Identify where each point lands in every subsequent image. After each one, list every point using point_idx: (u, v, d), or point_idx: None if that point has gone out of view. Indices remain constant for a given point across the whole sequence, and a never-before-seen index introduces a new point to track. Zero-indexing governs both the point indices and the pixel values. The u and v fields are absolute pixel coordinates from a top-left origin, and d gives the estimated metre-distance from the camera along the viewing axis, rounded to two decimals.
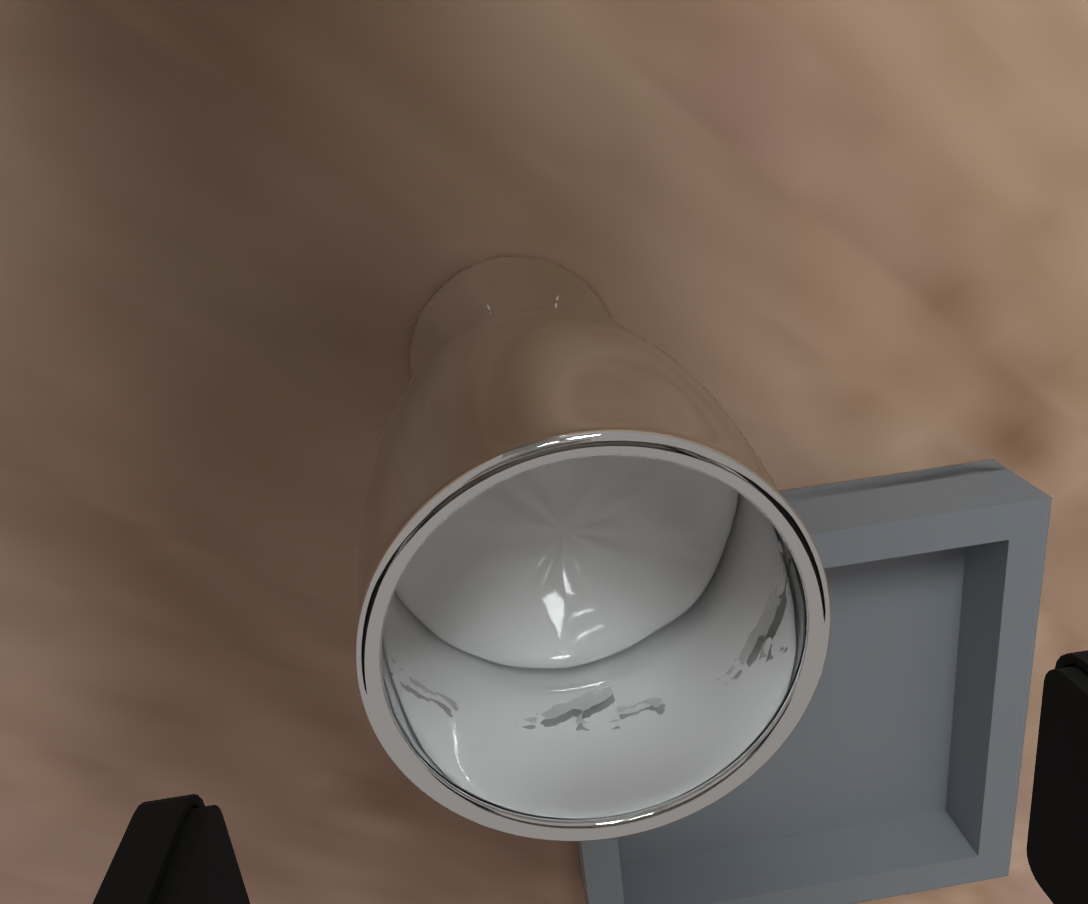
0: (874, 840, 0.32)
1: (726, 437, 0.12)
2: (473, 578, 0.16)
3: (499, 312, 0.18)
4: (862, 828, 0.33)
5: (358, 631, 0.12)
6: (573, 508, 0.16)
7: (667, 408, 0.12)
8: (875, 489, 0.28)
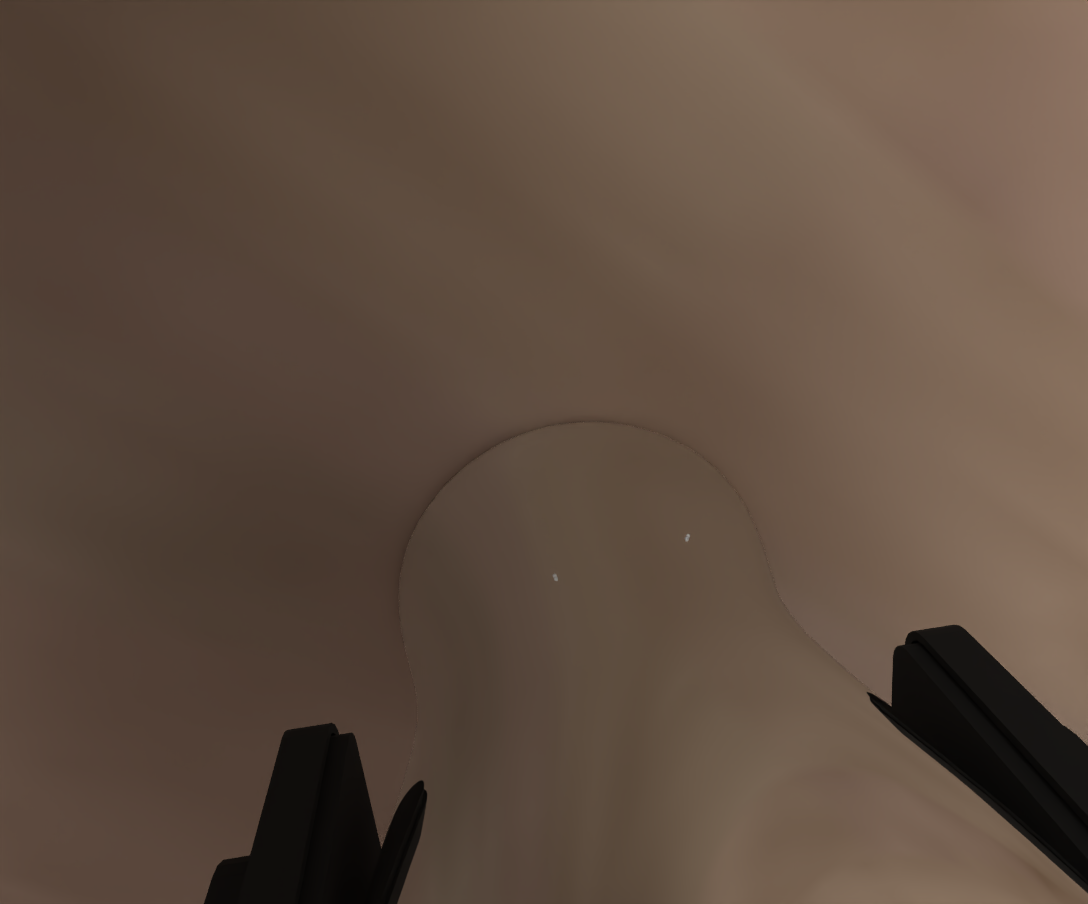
0: None
1: None
2: None
3: (603, 679, 0.08)
4: None
5: None
6: None
7: None
8: None
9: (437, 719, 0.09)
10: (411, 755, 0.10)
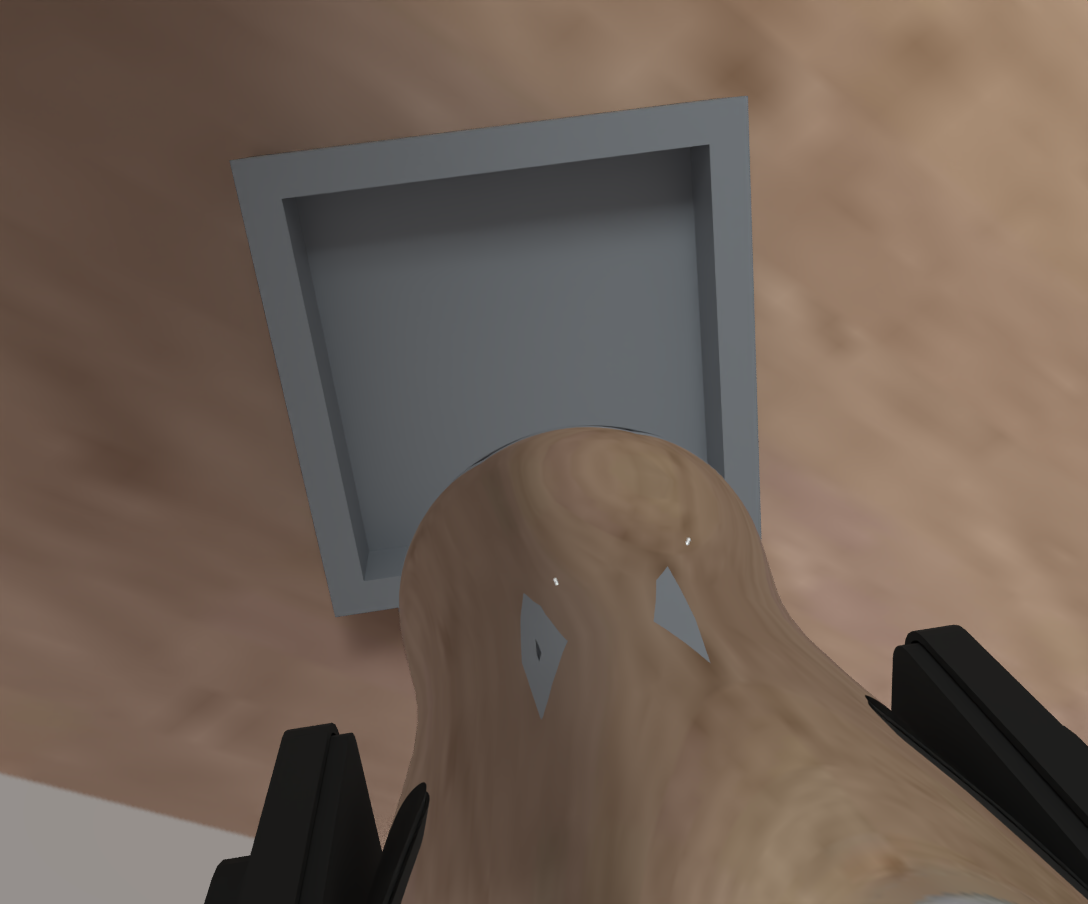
0: None
1: None
2: None
3: (604, 685, 0.08)
4: None
5: None
6: None
7: None
8: None
9: (437, 724, 0.09)
10: (411, 760, 0.09)
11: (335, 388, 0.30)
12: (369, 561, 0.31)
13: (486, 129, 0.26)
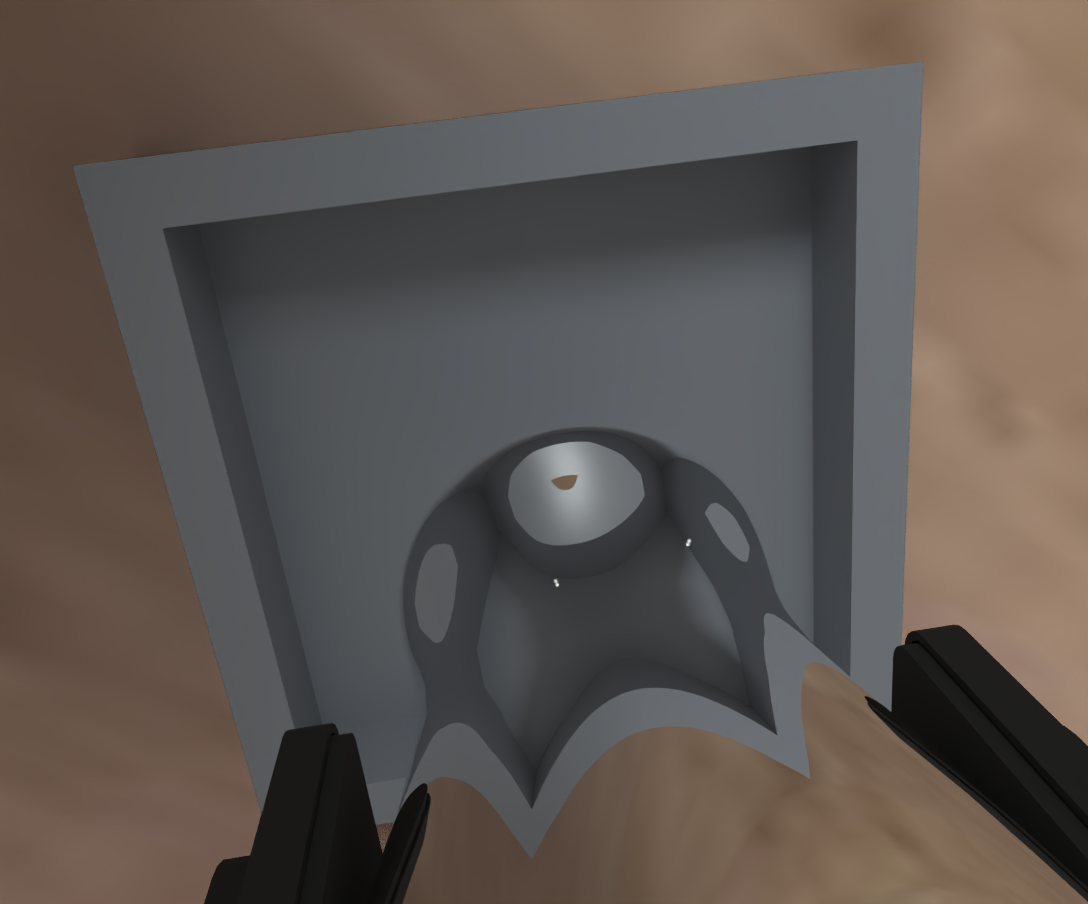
0: None
1: None
2: None
3: (604, 687, 0.08)
4: None
5: None
6: None
7: None
8: None
9: (438, 726, 0.09)
10: (411, 761, 0.09)
11: (268, 506, 0.20)
12: None
13: (498, 115, 0.16)
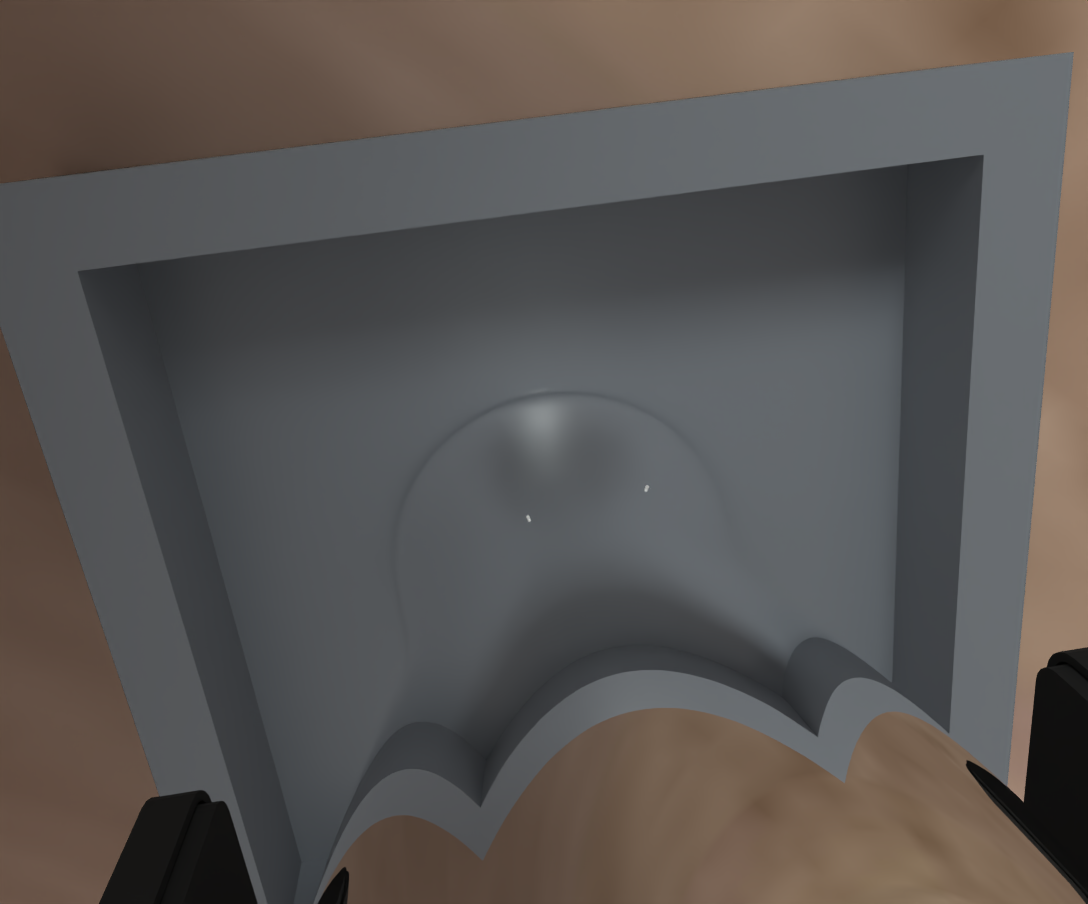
0: None
1: None
2: None
3: (560, 584, 0.09)
4: None
5: None
6: None
7: None
8: None
9: (424, 633, 0.11)
10: None
11: (230, 602, 0.16)
12: (299, 892, 0.18)
13: (519, 122, 0.12)
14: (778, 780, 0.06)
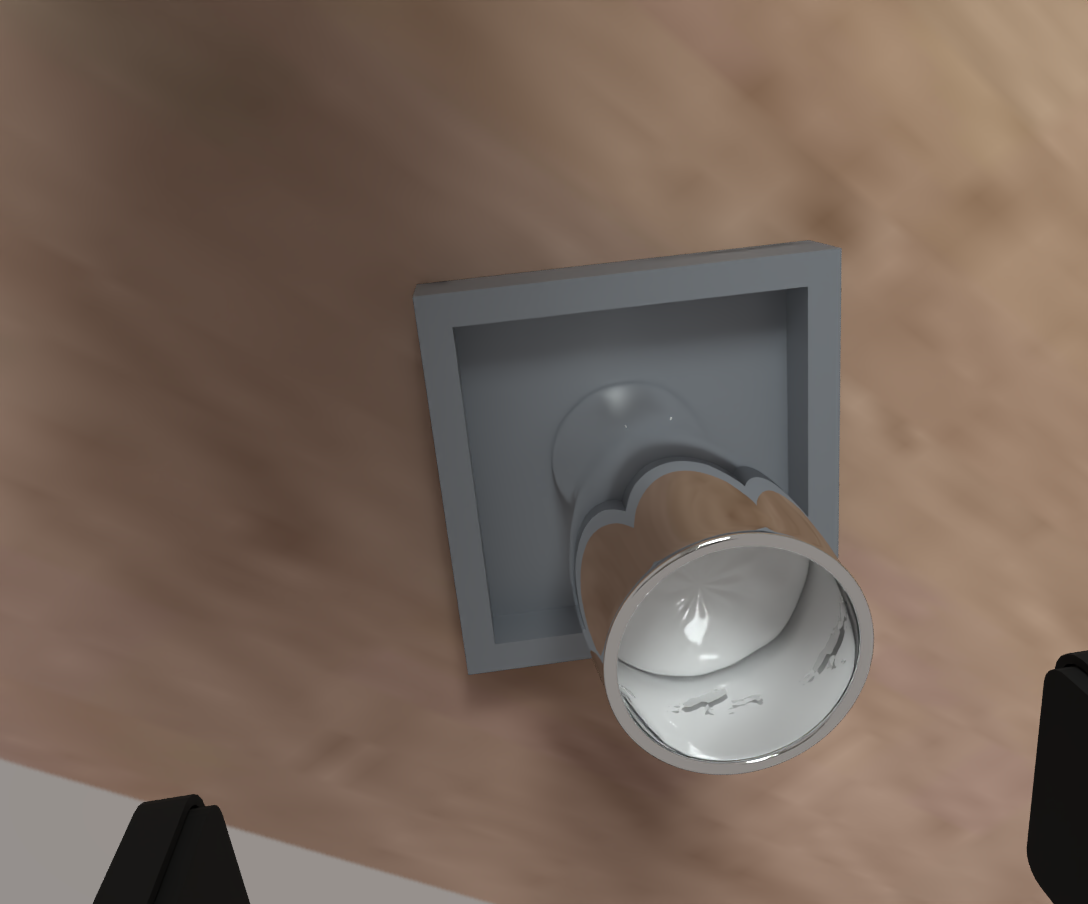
0: None
1: (813, 534, 0.21)
2: (639, 615, 0.25)
3: (644, 437, 0.28)
4: None
5: (608, 641, 0.20)
6: (706, 571, 0.25)
7: (780, 518, 0.21)
8: (703, 255, 0.33)
9: (591, 463, 0.29)
10: (580, 478, 0.30)
11: (475, 477, 0.35)
12: (495, 625, 0.36)
13: (624, 273, 0.31)
14: (706, 458, 0.24)
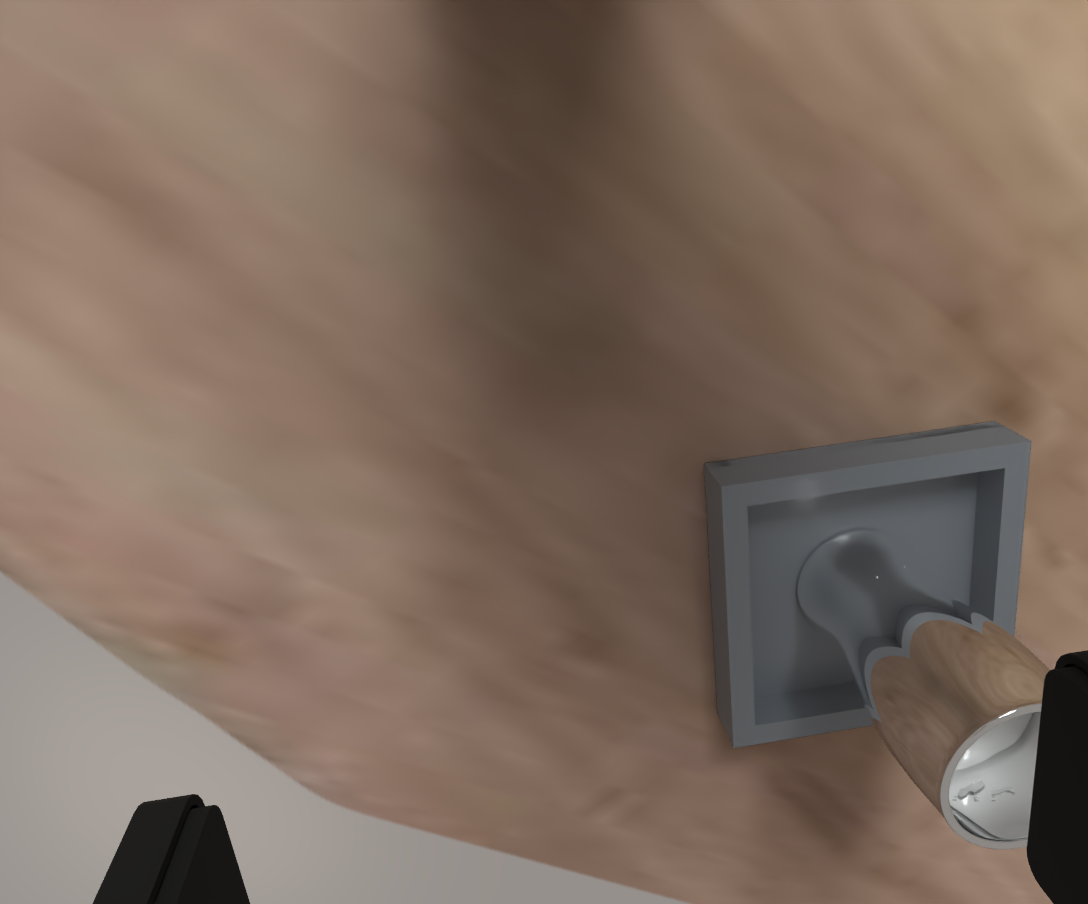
0: None
1: None
2: None
3: (908, 597, 0.39)
4: None
5: (946, 771, 0.32)
6: None
7: None
8: (919, 438, 0.44)
9: (859, 609, 0.40)
10: (849, 618, 0.41)
11: None
12: None
13: (873, 464, 0.42)
14: (977, 629, 0.35)
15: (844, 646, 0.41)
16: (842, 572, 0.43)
